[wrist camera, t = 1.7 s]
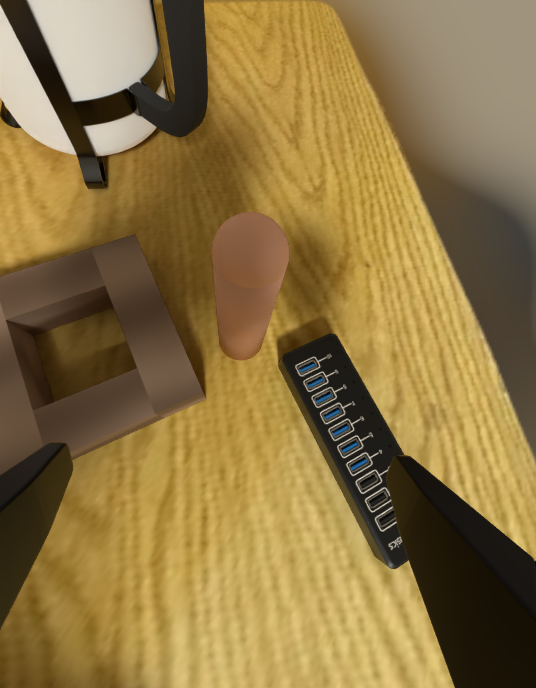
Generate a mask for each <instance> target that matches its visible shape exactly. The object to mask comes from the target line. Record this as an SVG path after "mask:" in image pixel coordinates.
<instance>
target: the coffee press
mask: <svg viewBox="0 0 536 688" xmlns="http://www.w3.org/2000/svg"><path fill="white" fill-rule="evenodd" d="M162 3H163V10H164V17H165V24H166V30H167V37H168V44H169V51H170V57H171V64H172V71H173V79H174V87H175V95H174V93H173V92H172V90H171V88H170V86H169V82H168V77H167V71H166V65H165V59H164V53H163V47H162V41H161V35H160V29H159V23H158V17H157V11H156V5H155V0H0V98H1V99H2V105H1V111H0V117H1V119H2V120H3V121H4V122H5V123H6V124H8V125H9V126H11V127H14V128H21V127H22V128H23V129H24V130H25V131H26V132H27V133H28V134H29V135H30V136H32V137H33V138H34V139H36V140H37V141H39V142H41V143H42V144H44V145H46V146H48V147H50V148H53V149H55V150H58V151H61V152H64V153H68V154H73V155H77V157H78V160H79V163H80V167H81V170H82V174H83V178H84V181H85V184H86V186H87V188H88V189H107V187H108V182H107V176H106V171H105V166H104V159H103V156H104V155H111V154H115V153H119V152H122V151H125V150H128V149H130V148H132V147H134V146H136V145H137V144H139V143H140V142H142V141H143V140H145V139H146V138H147V137H148V136H149V135H150V134H152V132H153V131H154V130H155V129H156V128H159V129H161V130H162V131H164V132H166V133H168V134H170V135H173V136H176V137H183V136H186V135H188V134H189V133H190V132H192V131H193V130H194V129H196V128H197V127H198V126H199V125H200V124H201V123H202V121H203V119H204V117H205V113H206V109H207V98H208V78H207V54H206V35H205V17H204V0H162ZM164 79H165V80H164ZM165 85H166V87H165ZM166 90H167V94H168V98H169V100H170V102H169V101H167V100H166ZM4 104H5V105H6V107H7V108H8V110H9V111H8V110H7V109H6V107H5V106H4Z"/></svg>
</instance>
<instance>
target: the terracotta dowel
mask: <svg viewBox="0 0 536 688" xmlns="http://www.w3.org/2000/svg"><path fill="white" fill-rule="evenodd" d="M212 262H213V274H214V286H215V298H216V309H217V321H218V333H219V343H220V347H221V349H222V351H223V352H224V353H225V354H226V355H227V356H228V357H230V358H232V359H235V360H247V359H250V358H252V357H253V356H255V355H256V354H257V353H258V352H259V350H260V348H261V346H262V343H263V340H264V336H265V333H266V330H267V327H268V324H269V321H270V318H271V315H272V312H273V309H274V306H275V303H276V300H277V296H278V293H279V290H280V287H281V284H282V281H283V278H284V275H285V272H286V269H287V266H288V262H289V244H288V240H287V237H286V235H285V233H284V231H283V230H282V228H281V227H280V226H279V225H278V224H277V223H276V222H275V221H274V220H273V219H271V218H270V217H268V216H266V215H264V214H261V213H256V212H244V213H240V214H237V215H234V216H232V217H231V218H229V219H228V220H226V221H225V222H224V223H223V224H222V225H221V226H220V228H219V229H218V231H217V233H216V234H215V237H214V240H213V244H212Z"/></svg>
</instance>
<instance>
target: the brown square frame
mask: <svg viewBox="0 0 536 688" xmlns="http://www.w3.org/2000/svg"><path fill="white" fill-rule="evenodd" d="M112 307H114V309H115V312H116V314H117V317H118V320H119V322H120V325H121V327H122V330H123V332H124V335H125V338H126V340H127V343H128V345H129V348H130V350H131V353H132V356H133V358H134V361H135V363H136V366H137V368H136V369H134V370H131V371H129V372H127V373H124V374H122V375H119V376H117V377H114V378H112V379H109V380H107V381H105V382H102V383H100V384H97V385H95V386H92V387H90V388H87V389H85V390H82V391H80V392H78V393H75V394H73V395H70V396H68V397H65V398H63V399H60V400H58V401H56V402H54V399H53V396H52V393H51V390H50V387H49V384H48V381H47V377H46V374H45V371H44V368H43V365H42V362H41V358H40V355H39V352H38V349H37V346H36V343H35V340H34V335H37V334H39V333H42V332H45V331H48V330H51V329H53V328H56V327H59V326H62V325H64V324H67V323H70V322H73V321H76V320H78V319H81V318H84V317H87V316H89V315H92V314H95V313H98V312H101V311H103V310H106V309H109V308H112ZM205 399H206V397H205V395H204V393H203V390H202V388H201V386H200V383H199V381H198V379H197V376H196V374H195V372H194V370H193V367H192V365H191V363H190V360H189V358H188V356H187V353H186V351H185V349H184V346H183V344H182V342H181V339H180V337H179V335H178V332H177V330H176V328H175V325H174V323H173V321H172V318H171V316H170V314H169V311H168V309H167V307H166V305H165V302H164V300H163V298H162V295H161V293H160V291H159V288H158V286H157V284H156V281H155V279H154V277H153V274H152V272H151V270H150V267H149V265H148V263H147V260H146V258H145V256H144V254H143V251H142V249H141V247H140V244H139V242H138V240H137V237H136V235H135V234H134V235H131V236H127V237H124V238H121V239H118V240H115V241H112V242H108V243H105V244H102V245H99V246H96V247H92V248H89V249H86V250H83V251H80V252H77V253H73V254H70V255H67V256H64V257H61V258H57V259H54V260H51V261H48V262H45V263H41V264H38V265H35V266H32V267H29V268H26V269H22V270H19V271H16V272H13V273H10V274H6V275H3V276H0V475H1V474H2V473H4V472H5V471H7V470H8V469H10V468H11V467H13V466H15V465H16V464H18V463H19V462H21V461H22V460H24V459H25V458H27V457H28V456H30V455H31V454H33V453H34V452H36V451H37V450H39V449H40V448H42V447H43V446H45V445H47V444H48V443H52V442H54V443H66V444H67V445H68V446H69V450H70V454H71V458H72V460H73V459H75V458H77V457H79V456H81V455H84V454H86V453H88V452H90V451H92V450H95V449H97V448H99V447H101V446H104V445H106V444H108V443H110V442H112V441H115V440H117V439H119V438H121V437H123V436H126V435H128V434H130V433H132V432H134V431H137V430H139V429H141V428H143V427H146V426H148V425H150V424H152V423H154V422H157V421H159V420H161V419H163V418H165V417H168V416H170V415H172V414H174V413H176V412H179V411H181V410H183V409H185V408H187V407H190V406H192V405H194V404H196V403H199V402H201V401H203V400H205Z"/></svg>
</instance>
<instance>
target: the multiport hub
mask: <svg viewBox="0 0 536 688" xmlns="http://www.w3.org/2000/svg"><path fill="white" fill-rule="evenodd" d="M279 369H280V371H281V373H282V375H283V377H284V379H285V381H286V383H287V385H288V387H289V389H290V391H291V393H292V395H293V397H294V399H295V401H296V403H297V404H298V406H299V408H300V410H301V412H302V414H303V416H304V418H305V420H306V422H307V424H308V426H309V428H310V430H311V432H312V434H313V436H314V438H315V440H316V442H317V444H318V446H319V448H320V450H321V452H322V454H323V456H324V458H325V459H326V461H327V463H328V465H329V467H330V469H331V471H332V473H333V475H334V477H335V479H336V481H337V483H338V485H339V487H340V489H341V491H342V493H343V495H344V497H345V499H346V501H347V503H348V505H349V507H350V509H351V511H352V513H353V514H354V516H355V518H356V520H357V522H358V524H359V526H360V528H361V530H362V532H363V534H364V536H365V538H366V540H367V542H368V544H369V546H370V548H371V550H372V552H373V554H374V556H375V557H376V558H378V559H379V560H380V561H381V562H383V563H384V564H385V565H387V566H388V567H389V568H391V569H396V568H398V567H400V566H401V565H403V564H404V563H405V562H407V561H408V560H409V559H408V557H407V554H406V551H405V548H404V545H403V542H402V539H401V537H400V533H399V529H398V526H397V522H396V518H395V514H394V510H393V506H392V502H391V498H390V494H389V490H388V486H387V482H386V476H387V472H388V470H389V467H390V464H391V462H392V459H393V457H394V456H395V455H404V454H403V452H402V450H401V448H400V446H399V445H398V443H397V441H396V439H395V438H394V436H393V434H392V432H391V431H390V429H389V427H388V425H387V423H386V422H385V420H384V418H383V416H382V415H381V413H380V411H379V409H378V408H377V406H376V404H375V402H374V400H373V399H372V397H371V395H370V393H369V392H368V390H367V388H366V386H365V385H364V383H363V381H362V379H361V378H360V376H359V374H358V372H357V370H356V369H355V367H354V365H353V363H352V362H351V360H350V358H349V356H348V355H347V353H346V351H345V349H344V347H343V346H342V344H341V342H340V340H339V339H338V337H337V336H336V335H335V334H331V333H330V334H327V335H325V336H323V337H321V338H319V339H317V340H314V341H312V342H310V343H308V344H306V345H304V346H301V347H299V348H297V349H295V350H293V351H290V352H288V353H286V354H285V355H284V356H283V357H282V359H281V361H280V362H279Z"/></svg>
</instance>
